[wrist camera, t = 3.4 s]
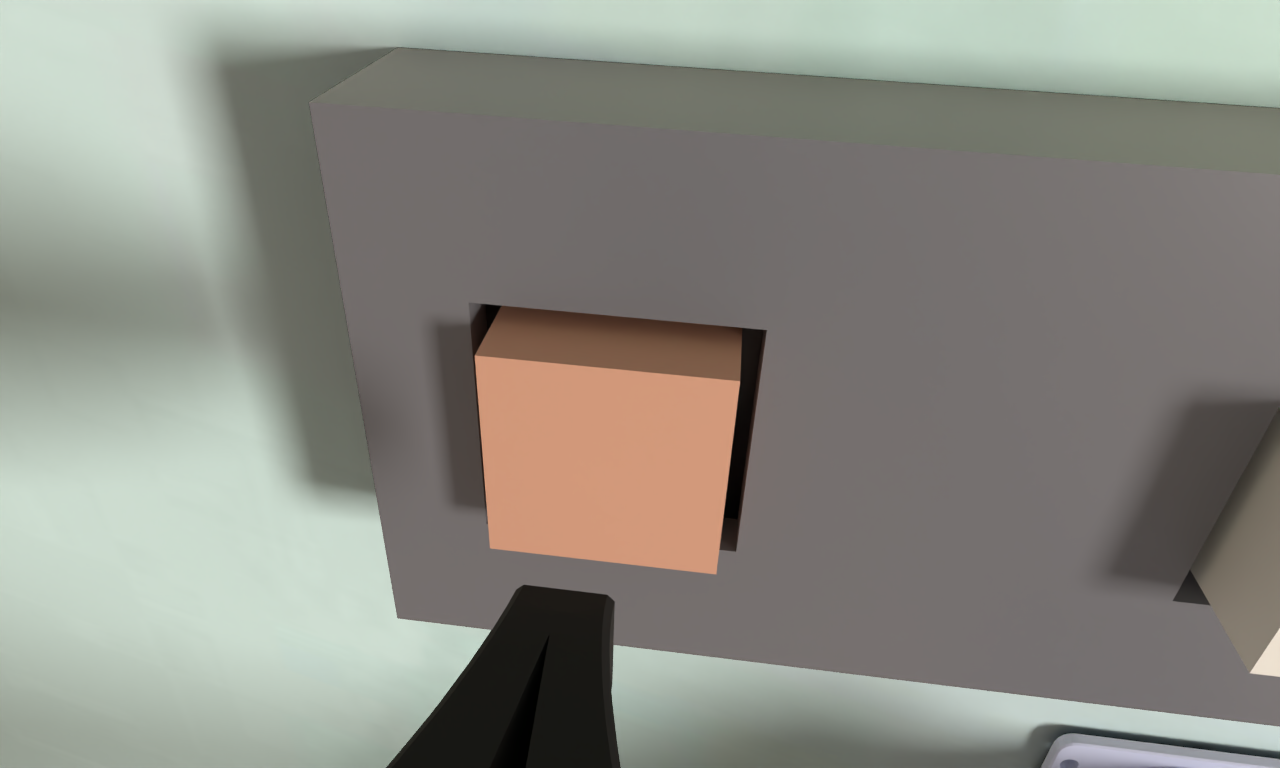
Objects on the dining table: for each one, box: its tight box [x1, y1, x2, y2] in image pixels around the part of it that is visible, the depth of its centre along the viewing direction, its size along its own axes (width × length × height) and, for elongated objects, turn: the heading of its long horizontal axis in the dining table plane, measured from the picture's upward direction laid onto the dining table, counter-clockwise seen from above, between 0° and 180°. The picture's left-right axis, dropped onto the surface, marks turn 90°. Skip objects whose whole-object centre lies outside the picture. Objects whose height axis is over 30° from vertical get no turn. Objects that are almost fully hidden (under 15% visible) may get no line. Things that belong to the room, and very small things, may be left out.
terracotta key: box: [475, 306, 742, 574], centre depth 17 cm, size 4×4×3 cm
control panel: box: [309, 48, 1280, 726], centre depth 18 cm, size 12×24×4 cm, turn 88°
